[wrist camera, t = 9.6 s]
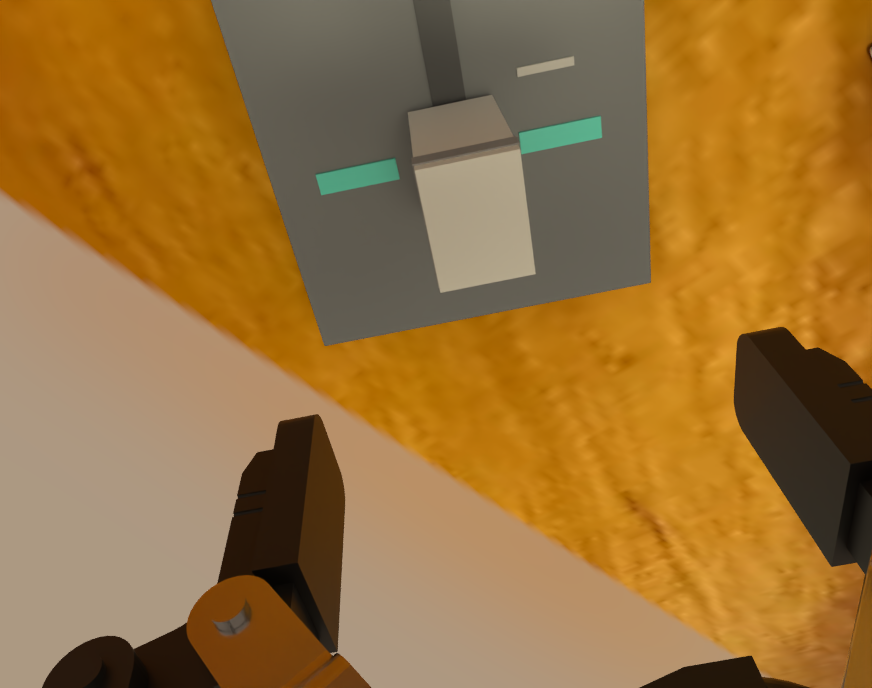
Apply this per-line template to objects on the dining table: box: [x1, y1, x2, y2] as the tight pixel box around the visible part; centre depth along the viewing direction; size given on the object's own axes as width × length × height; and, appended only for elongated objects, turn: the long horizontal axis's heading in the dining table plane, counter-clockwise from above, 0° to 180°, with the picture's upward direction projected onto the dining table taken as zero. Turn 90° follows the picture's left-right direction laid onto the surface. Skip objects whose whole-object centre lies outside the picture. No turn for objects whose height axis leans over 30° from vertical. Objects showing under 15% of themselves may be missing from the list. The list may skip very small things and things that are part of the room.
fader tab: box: [408, 95, 536, 293], centre depth 24 cm, size 4×3×6 cm
